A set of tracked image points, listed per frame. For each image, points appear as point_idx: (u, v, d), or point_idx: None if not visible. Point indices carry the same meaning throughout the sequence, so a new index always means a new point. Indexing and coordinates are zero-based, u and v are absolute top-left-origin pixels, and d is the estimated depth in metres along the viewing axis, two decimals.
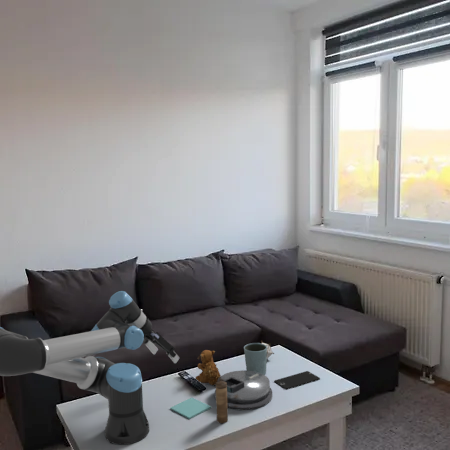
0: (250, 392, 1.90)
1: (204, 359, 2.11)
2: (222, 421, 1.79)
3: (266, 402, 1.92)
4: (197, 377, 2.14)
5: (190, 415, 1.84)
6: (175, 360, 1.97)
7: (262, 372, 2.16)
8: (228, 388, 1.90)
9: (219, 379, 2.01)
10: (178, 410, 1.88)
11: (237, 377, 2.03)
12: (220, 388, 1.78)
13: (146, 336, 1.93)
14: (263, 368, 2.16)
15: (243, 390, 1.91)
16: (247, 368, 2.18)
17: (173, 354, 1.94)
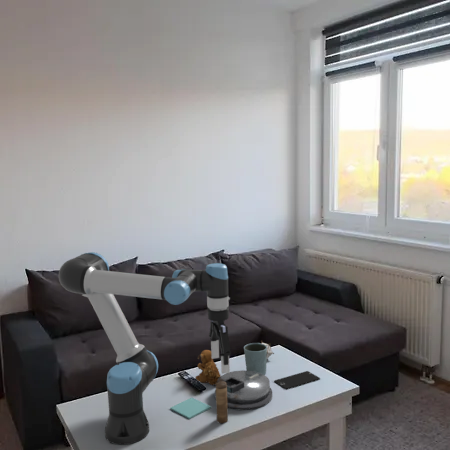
0: (250, 392, 1.90)
1: (204, 359, 2.11)
2: (222, 421, 1.79)
3: (266, 402, 1.92)
4: (197, 377, 2.15)
5: (190, 415, 1.84)
6: (224, 370, 1.72)
7: (262, 372, 2.16)
8: (228, 388, 1.90)
9: (219, 379, 2.01)
10: (178, 410, 1.88)
11: (237, 377, 2.03)
12: (220, 388, 1.78)
13: (215, 325, 1.75)
14: (263, 368, 2.16)
15: (243, 390, 1.91)
16: (247, 368, 2.18)
17: (226, 361, 1.70)
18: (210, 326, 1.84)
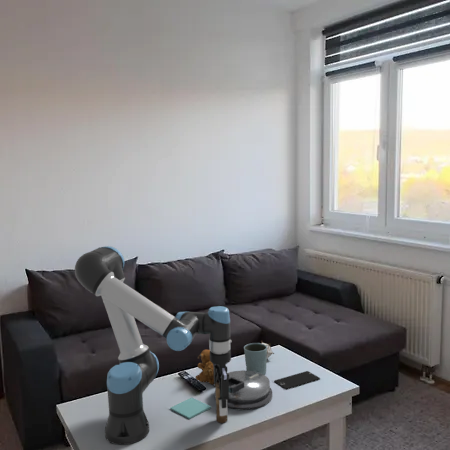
0: (250, 392, 1.90)
1: (204, 358, 2.12)
2: (222, 421, 1.79)
3: (266, 402, 1.92)
4: (197, 376, 2.15)
5: (190, 415, 1.84)
6: (222, 413, 1.78)
7: (262, 372, 2.16)
8: None
9: None
10: (178, 410, 1.88)
11: (237, 377, 2.03)
12: None
13: (217, 368, 1.77)
14: (263, 368, 2.16)
15: (243, 390, 1.91)
16: (247, 368, 2.18)
17: (224, 404, 1.77)
18: (214, 373, 1.84)
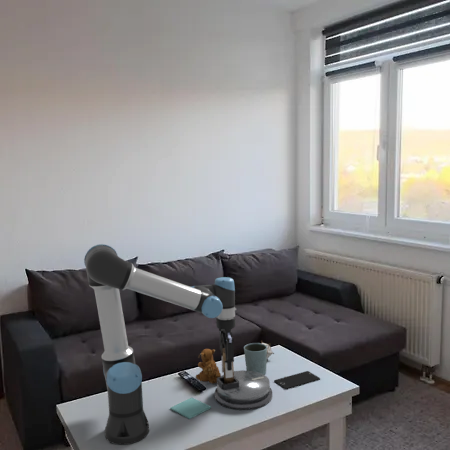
0: (239, 393, 1.90)
1: (204, 358, 2.12)
2: None
3: (266, 402, 1.92)
4: (197, 375, 2.16)
5: (190, 415, 1.84)
6: (227, 375, 1.94)
7: (262, 372, 2.16)
8: (220, 384, 1.94)
9: None
10: (178, 410, 1.88)
11: (242, 376, 2.03)
12: None
13: (223, 333, 1.94)
14: (263, 368, 2.16)
15: (235, 390, 1.92)
16: (247, 368, 2.18)
17: (229, 367, 1.93)
18: None
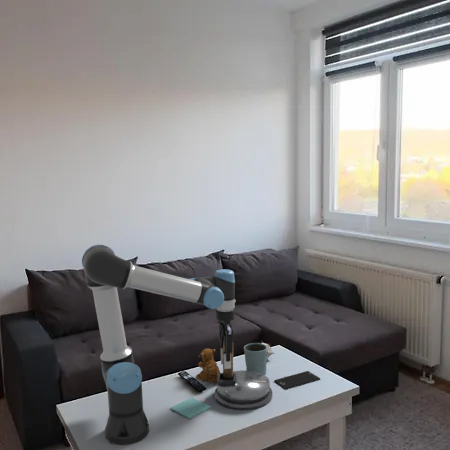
0: (229, 391, 1.91)
1: (205, 357, 2.13)
2: (225, 375, 1.98)
3: (266, 402, 1.92)
4: (198, 375, 2.16)
5: (190, 415, 1.84)
6: (226, 366, 1.96)
7: (262, 372, 2.16)
8: (217, 380, 1.98)
9: None
10: (178, 410, 1.88)
11: (246, 377, 2.03)
12: None
13: (222, 325, 1.95)
14: (263, 368, 2.16)
15: (228, 387, 1.94)
16: (247, 368, 2.18)
17: (228, 358, 1.95)
18: (219, 331, 2.02)
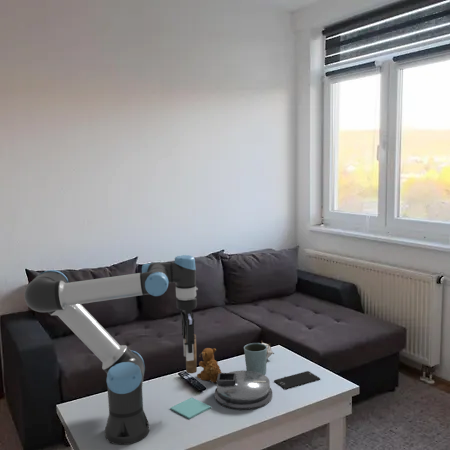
0: (229, 391, 1.91)
1: (205, 357, 2.13)
2: (188, 371, 1.87)
3: (266, 402, 1.92)
4: (198, 375, 2.17)
5: (190, 415, 1.84)
6: (188, 358, 1.85)
7: (262, 372, 2.16)
8: (217, 379, 1.98)
9: (232, 372, 2.08)
10: (178, 410, 1.88)
11: (246, 377, 2.03)
12: None
13: (184, 315, 1.83)
14: (263, 368, 2.16)
15: (228, 387, 1.94)
16: (247, 368, 2.18)
17: (190, 349, 1.83)
18: (181, 321, 1.91)
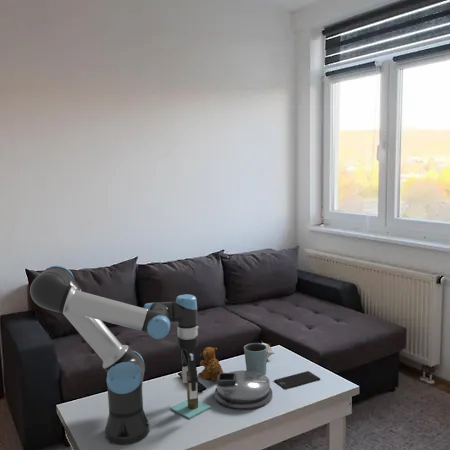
0: (229, 391, 1.91)
1: (207, 356, 2.14)
2: (190, 407, 1.89)
3: (266, 402, 1.92)
4: (200, 374, 2.17)
5: (190, 415, 1.84)
6: (191, 396, 1.82)
7: (262, 372, 2.16)
8: (217, 379, 1.98)
9: (232, 372, 2.08)
10: (178, 410, 1.88)
11: (246, 377, 2.03)
12: (188, 375, 1.87)
13: (185, 353, 1.86)
14: (263, 368, 2.16)
15: (228, 387, 1.94)
16: (247, 368, 2.18)
17: (193, 387, 1.81)
18: None
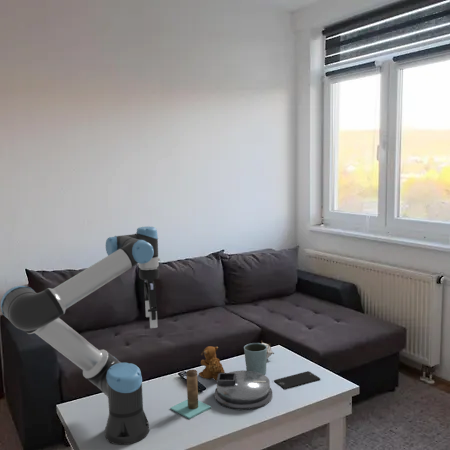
0: (229, 391, 1.91)
1: (208, 355, 2.15)
2: (190, 407, 1.89)
3: (266, 402, 1.92)
4: (201, 373, 2.18)
5: (190, 415, 1.84)
6: (152, 325, 1.84)
7: (262, 372, 2.16)
8: (217, 379, 1.98)
9: (232, 372, 2.08)
10: (178, 410, 1.88)
11: (246, 377, 2.03)
12: (188, 375, 1.87)
13: (146, 284, 1.88)
14: (263, 368, 2.16)
15: (228, 387, 1.94)
16: (247, 368, 2.18)
17: (153, 316, 1.83)
18: None
